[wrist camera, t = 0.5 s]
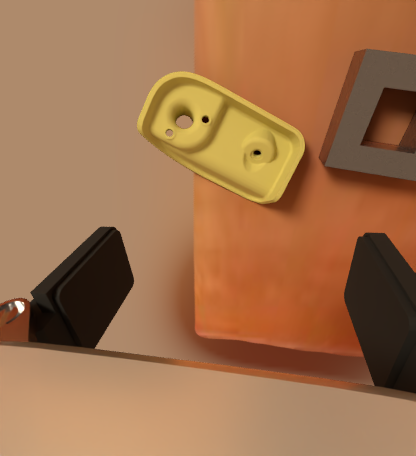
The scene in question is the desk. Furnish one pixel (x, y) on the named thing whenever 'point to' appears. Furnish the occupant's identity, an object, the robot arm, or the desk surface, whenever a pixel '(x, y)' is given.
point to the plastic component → (222, 136)
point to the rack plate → (362, 112)
